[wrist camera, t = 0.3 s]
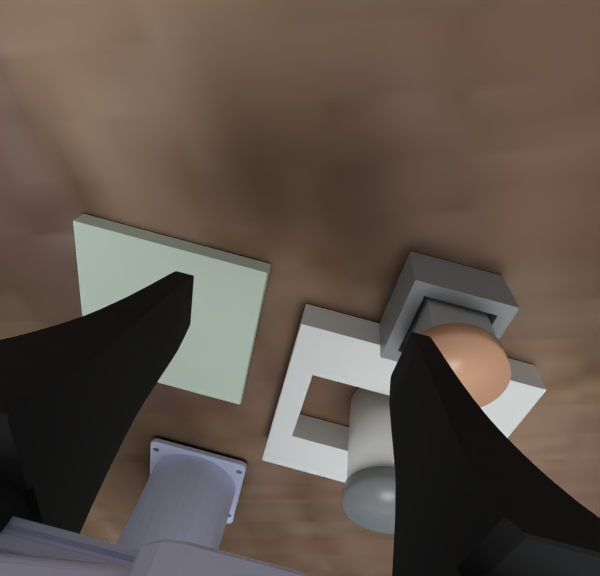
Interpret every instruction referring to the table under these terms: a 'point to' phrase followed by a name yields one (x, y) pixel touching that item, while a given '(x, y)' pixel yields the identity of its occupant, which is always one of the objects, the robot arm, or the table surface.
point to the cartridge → (370, 463)
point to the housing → (385, 360)
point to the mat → (205, 301)
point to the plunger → (465, 346)
